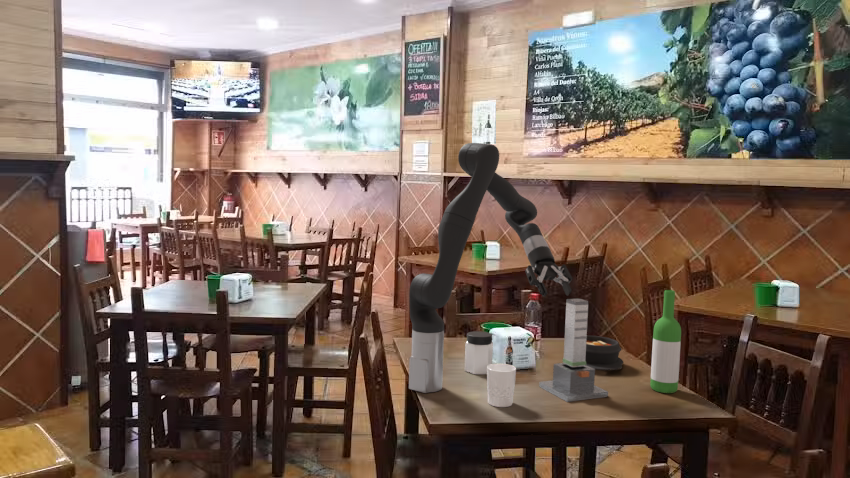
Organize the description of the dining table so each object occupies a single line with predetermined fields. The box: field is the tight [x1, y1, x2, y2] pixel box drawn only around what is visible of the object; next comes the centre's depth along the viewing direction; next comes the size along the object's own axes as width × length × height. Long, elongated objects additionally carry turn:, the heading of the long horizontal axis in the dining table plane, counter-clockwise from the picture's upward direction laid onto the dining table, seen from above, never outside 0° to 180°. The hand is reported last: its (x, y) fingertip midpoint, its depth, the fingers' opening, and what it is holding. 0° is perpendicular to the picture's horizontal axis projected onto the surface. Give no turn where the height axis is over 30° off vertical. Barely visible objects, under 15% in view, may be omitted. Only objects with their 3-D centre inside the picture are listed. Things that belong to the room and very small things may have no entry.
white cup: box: [486, 363, 517, 408], centre depth 173 cm, size 8×8×10 cm
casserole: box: [585, 335, 624, 371], centre depth 214 cm, size 25×19×8 cm
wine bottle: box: [649, 289, 682, 394], centre depth 188 cm, size 8×8×30 cm
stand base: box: [538, 362, 609, 403], centre depth 185 cm, size 14×14×8 cm
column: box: [562, 298, 589, 367], centre depth 184 cm, size 5×5×19 cm
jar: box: [464, 330, 494, 375], centre depth 203 cm, size 9×8×12 cm
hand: (557, 294), depth 192 cm, fingers open, 8 cm apart
